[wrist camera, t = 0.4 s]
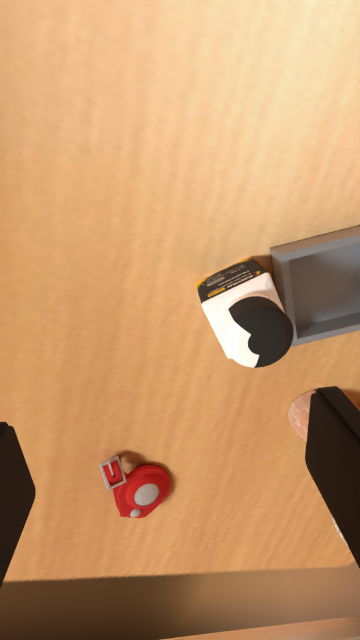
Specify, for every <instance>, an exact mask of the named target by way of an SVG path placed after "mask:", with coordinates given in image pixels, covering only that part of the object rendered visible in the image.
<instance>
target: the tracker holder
mask: <svg viewBox="0 0 360 640" xmlns="http://www.w3.org/2000/svg"><path fill="white" fill-rule="evenodd" d="M117 461H118V462H117ZM99 466H100V469H101V472H102V475H103V478H104V481H105V484H106V487H107V490H108V491H109V490H111V489H113V493H114V497H115V502H116V506H117V508H118V510H119V512H120V516H121V517H133V518H143V517H146V516H147V515H148V514H149V513H151V512H152V511H153V510H154V509H155V508H156V507H157V506H158V505H159V504H160V503H161V502H162V501H163V500H164V499H165V497H166V496H167V494H168V492H169V488H170V480H169V477H168V475H167V473H166V472H165V471H164V470H163V469H162V468H161V467H159V466H156V465H144V466H141V467H138V468H136V469H134V470H132V471H131V472H130V473H129V474H126V473H125V472H124V471H123V469H122V466H121V463H120V460H119V457H118V456H115V457H113V458H111V459H109V460H107V461H104V462H102V463H100V464H99ZM103 468H104V470H103ZM104 472H105V473H104ZM105 474H106V476H105ZM106 477H107V479H106ZM107 480H108V482H109V484H110V486H111V487H109V485H108V482H107Z"/></svg>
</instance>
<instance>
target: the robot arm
mask: <svg viewBox="0 0 360 640" xmlns="http://www.w3.org/2000/svg"><path fill="white" fill-rule="evenodd" d="M305 460H306V465H307V468H308V470H309V472H310V474H311V476H312V478H313V480H314V482H315V484H316V485H317V487H318V489H319V491H320V493H321V495H322V497H323V499H324V501H325V503H326V505H327V507H328V508H329V510H330V512H331V514H332V516H333V518H334V520H335V522H336V524H337V526H338V528H339V530H340V531H341V533H342V535H343V537H344V539H345V541H346V543H347V545H348V547H349V549H350V551H351V553H352V554H353V556H354V558H355V560H356V562H357V564H358V566H359V568H360V412H359V410H358V409H357V408H356V407H355V406H354V405H353V404H352V402H351V401H350V400H349V399H348V398H347V397H346V396H345V394H344V393H343V392H342V391H341V390H340V389H339V388H338V387H336V386H333V387H323V388H318V389H317V390H316V393H313V394H311V399H310V410H309V421H308V432H307V443H306V454H305ZM34 499H35V486H34V483H33V480H32V478H31V475H30V472H29V469H28V466H27V464H26V461H25V458H24V455H23V452H22V450H21V447H20V444H19V441H18V438H17V436H16V433H15V430H14V428H13V427H12V426H8V424H7V423H6V422H0V587H1V585H2V582H3V580H4V577H5V575H6V572H7V569H8V567H9V564H10V562H11V559H12V557H13V554H14V551H15V549H16V546H17V544H18V541H19V538H20V536H21V533H22V531H23V528H24V525H25V523H26V520H27V518H28V515H29V513H30V510H31V507H32V505H33V502H34ZM162 640H360V616H357V617H346V618H336V619H327V620H319V621H310V622H302V623H294V624H285V625H277V626H268V627H260V628H252V629H243V630H235V631H226V632H218V633H210V634H203V635H194V636H186V637H178V638H170V639H162Z"/></svg>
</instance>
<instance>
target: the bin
mask: <svg viewBox="0 0 360 640" xmlns="http://www.w3.org/2000/svg"><path fill="white" fill-rule="evenodd" d="M270 254H271V262H272V269H273V277H274V284H275V289H276V292H277V294H278V297H279V299H280V302H281V305H282V307H283V310H284V312H285V314H286V315H287V316H288V317H289V319H290V320H291V323H292V325H293V330H294V336H293V341H292V344H291V346H295V345H300V344H304V343H308V342H312V341H316V340H321V339H325V338H329V337H333V336H337V335H342V334H346V333H350V332H354V331H358V330H360V225H358V226H354V227H350V228H346V229H342V230H338V231H334V232H330V233H326V234H322V235H318V236H314V237H310V238H307V239H303V240H299V241H295V242H291V243H287V244H283V245H279V246H275V247H271V248H270Z"/></svg>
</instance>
